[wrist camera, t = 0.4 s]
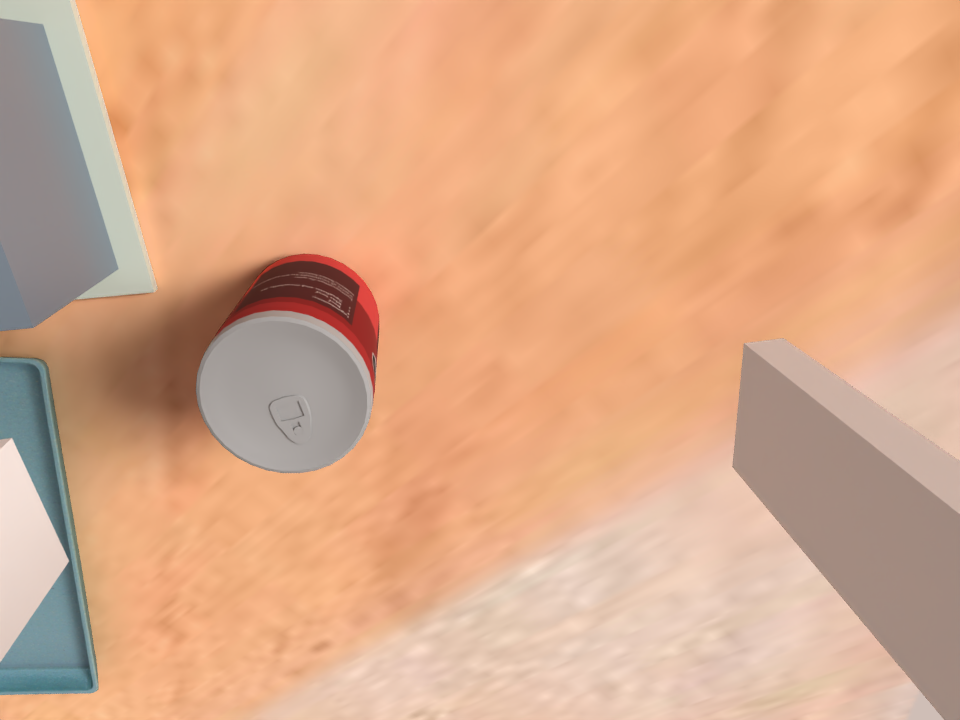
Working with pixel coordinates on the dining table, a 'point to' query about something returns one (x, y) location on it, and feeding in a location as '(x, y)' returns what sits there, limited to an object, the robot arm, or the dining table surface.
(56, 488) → the shallow long dish
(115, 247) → the mat
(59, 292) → the cover
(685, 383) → the dining table surface
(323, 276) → the canned food
